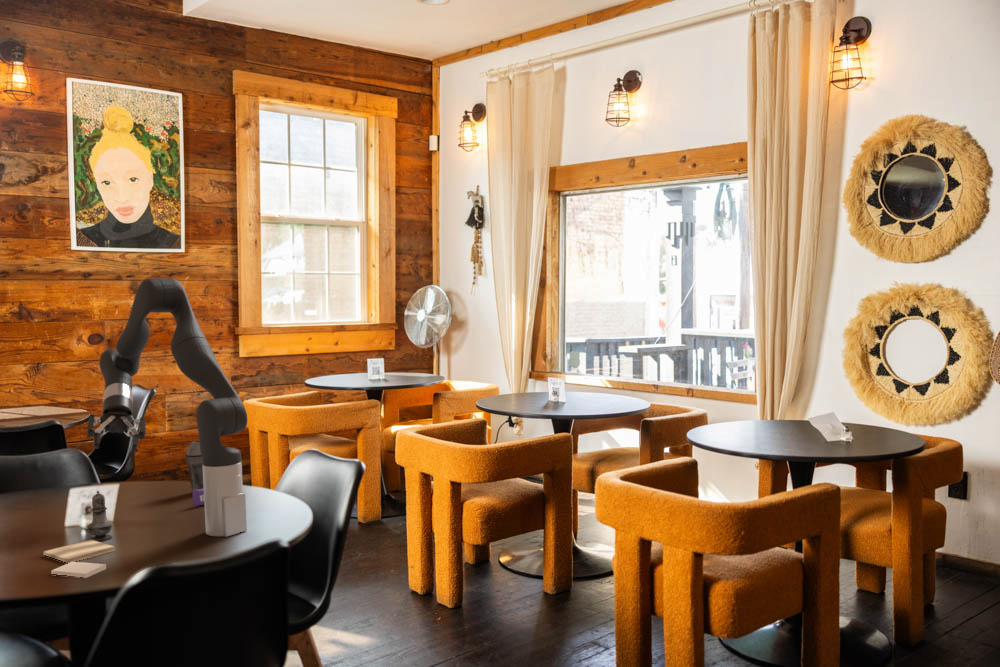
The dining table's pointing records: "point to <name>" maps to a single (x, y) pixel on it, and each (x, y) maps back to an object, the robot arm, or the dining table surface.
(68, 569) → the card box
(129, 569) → the dining table surface
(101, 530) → the salt shaker
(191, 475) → the beverage cup
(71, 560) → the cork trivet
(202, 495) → the snack package
